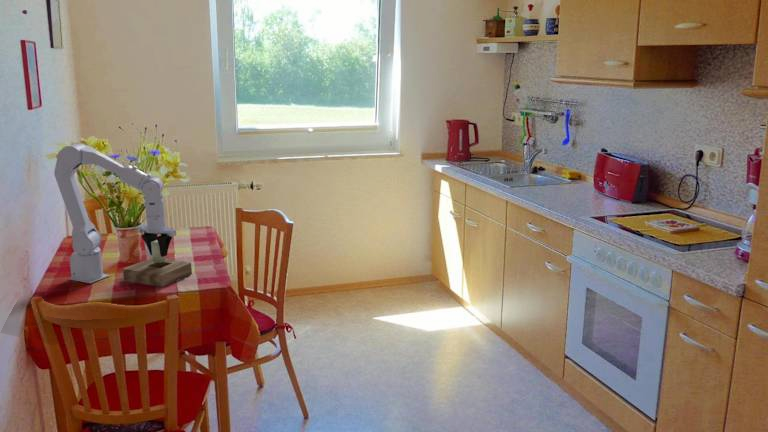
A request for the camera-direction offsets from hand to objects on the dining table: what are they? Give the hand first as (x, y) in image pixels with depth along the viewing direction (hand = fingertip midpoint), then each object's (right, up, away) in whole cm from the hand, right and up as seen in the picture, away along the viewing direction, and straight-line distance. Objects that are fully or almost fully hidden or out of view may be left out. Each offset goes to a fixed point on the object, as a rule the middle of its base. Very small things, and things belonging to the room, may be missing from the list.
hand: (158, 255), depth 210 cm
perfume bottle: (-7, -5, +13) cm, 16 cm away
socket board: (0, -7, +1) cm, 7 cm away
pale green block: (0, -2, 0) cm, 2 cm away
